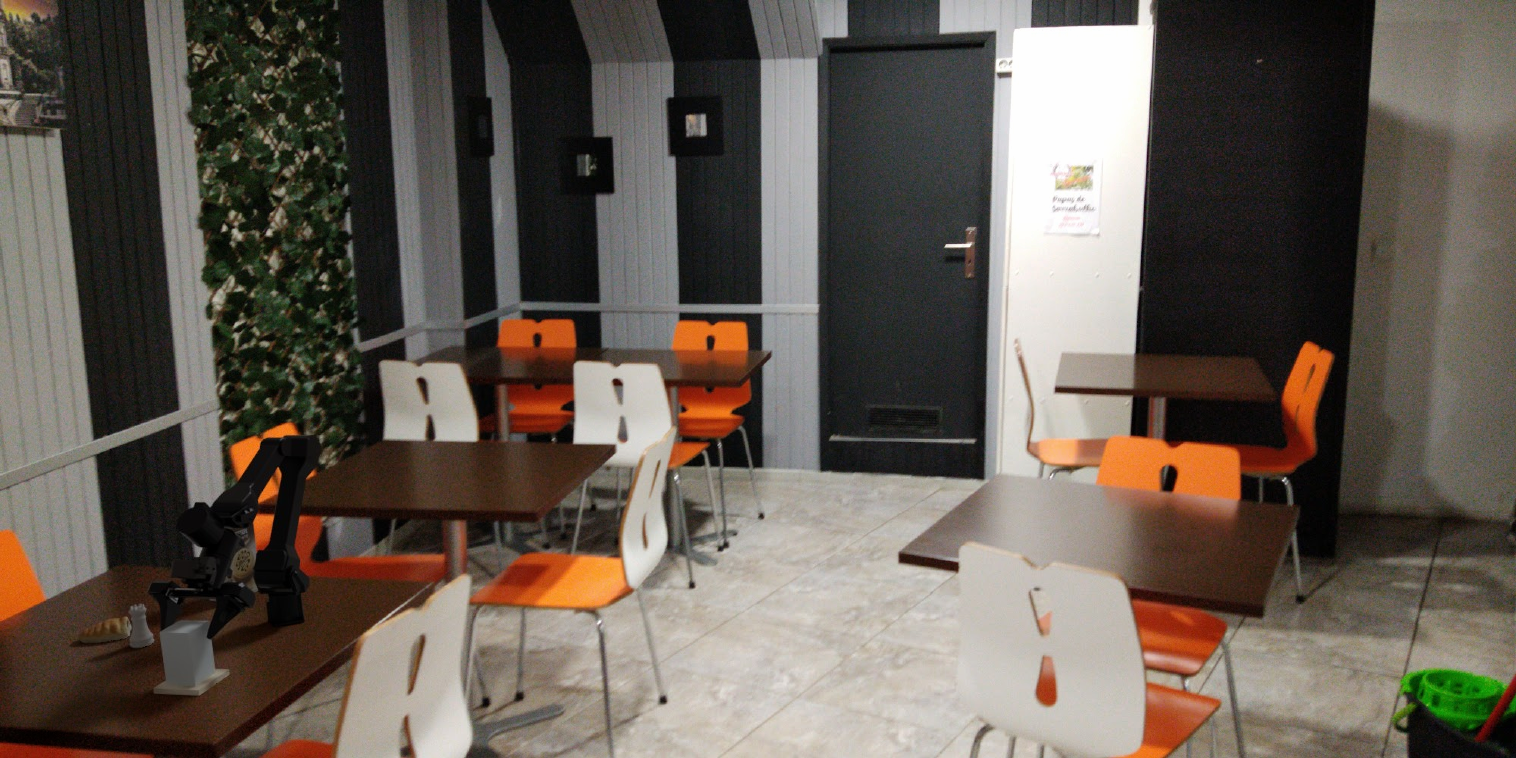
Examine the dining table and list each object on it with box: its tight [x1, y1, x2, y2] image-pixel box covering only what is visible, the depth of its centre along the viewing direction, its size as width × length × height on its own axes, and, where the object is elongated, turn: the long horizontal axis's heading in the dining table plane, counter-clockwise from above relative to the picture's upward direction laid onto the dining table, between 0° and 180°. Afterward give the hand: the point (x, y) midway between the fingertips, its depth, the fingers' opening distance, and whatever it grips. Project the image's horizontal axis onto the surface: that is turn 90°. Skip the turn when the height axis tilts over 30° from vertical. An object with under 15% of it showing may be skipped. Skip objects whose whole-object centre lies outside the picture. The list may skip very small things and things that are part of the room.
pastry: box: [77, 616, 132, 644], centre depth 245 cm, size 9×7×4 cm
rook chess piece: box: [128, 603, 155, 649], centre depth 239 cm, size 4×4×8 cm
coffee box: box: [209, 522, 259, 602], centre depth 265 cm, size 9×6×16 cm
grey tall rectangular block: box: [159, 619, 216, 686], centre depth 219 cm, size 6×6×10 cm
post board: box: [152, 668, 230, 697], centre depth 220 cm, size 9×9×4 cm
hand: (185, 637), depth 218 cm, fingers open, 9 cm apart
